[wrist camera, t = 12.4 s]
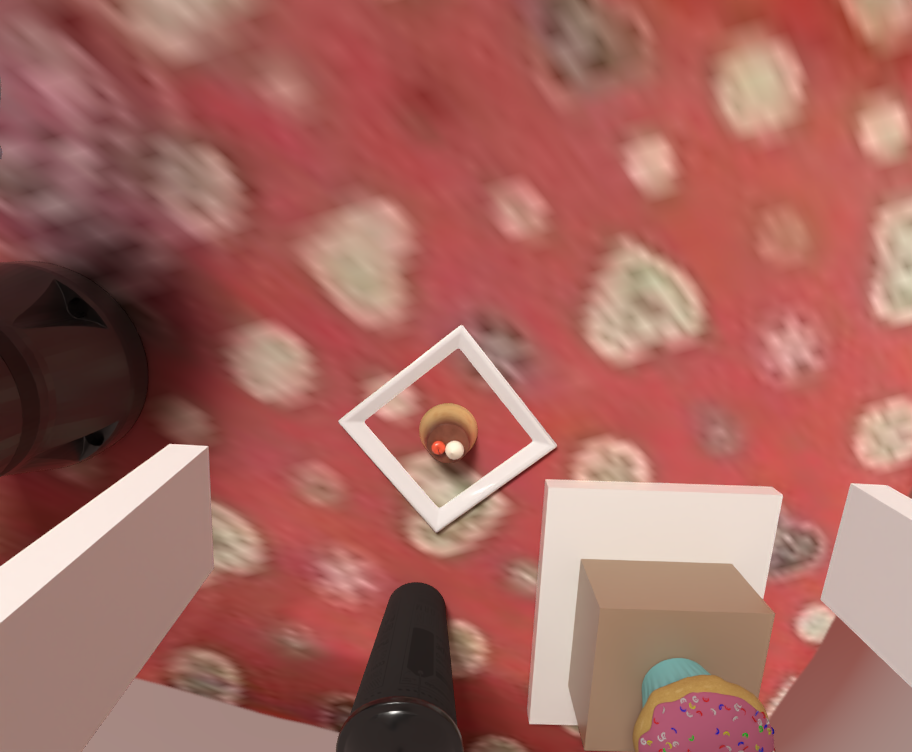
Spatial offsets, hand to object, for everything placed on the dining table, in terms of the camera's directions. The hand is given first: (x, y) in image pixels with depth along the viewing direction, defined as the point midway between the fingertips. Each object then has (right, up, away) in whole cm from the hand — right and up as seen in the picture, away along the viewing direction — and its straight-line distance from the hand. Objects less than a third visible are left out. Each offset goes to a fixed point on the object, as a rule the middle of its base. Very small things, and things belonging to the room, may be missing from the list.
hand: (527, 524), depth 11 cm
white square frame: (-2, -1, +32) cm, 32 cm away
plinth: (+14, -16, +34) cm, 41 cm away
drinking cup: (-5, -16, +35) cm, 39 cm away
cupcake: (+14, -19, +27) cm, 36 cm away
